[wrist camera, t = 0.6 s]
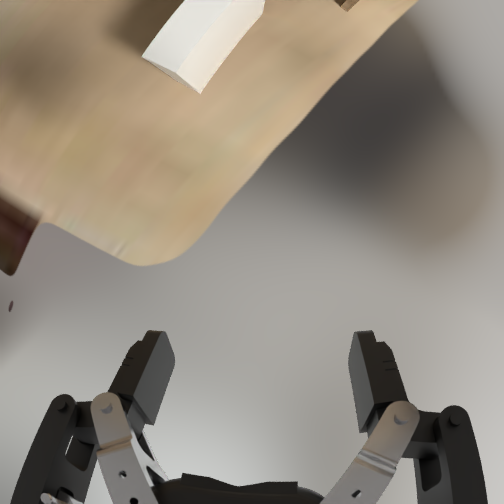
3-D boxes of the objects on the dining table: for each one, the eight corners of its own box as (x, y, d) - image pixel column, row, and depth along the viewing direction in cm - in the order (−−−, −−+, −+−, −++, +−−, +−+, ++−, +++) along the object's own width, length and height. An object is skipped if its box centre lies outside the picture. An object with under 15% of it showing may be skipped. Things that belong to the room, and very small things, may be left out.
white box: (177, 81, 26) (141, 56, 15) (239, 2, 22) (239, -53, 11) (200, 93, 27) (175, 72, 16) (262, 13, 23) (273, -40, 12)
